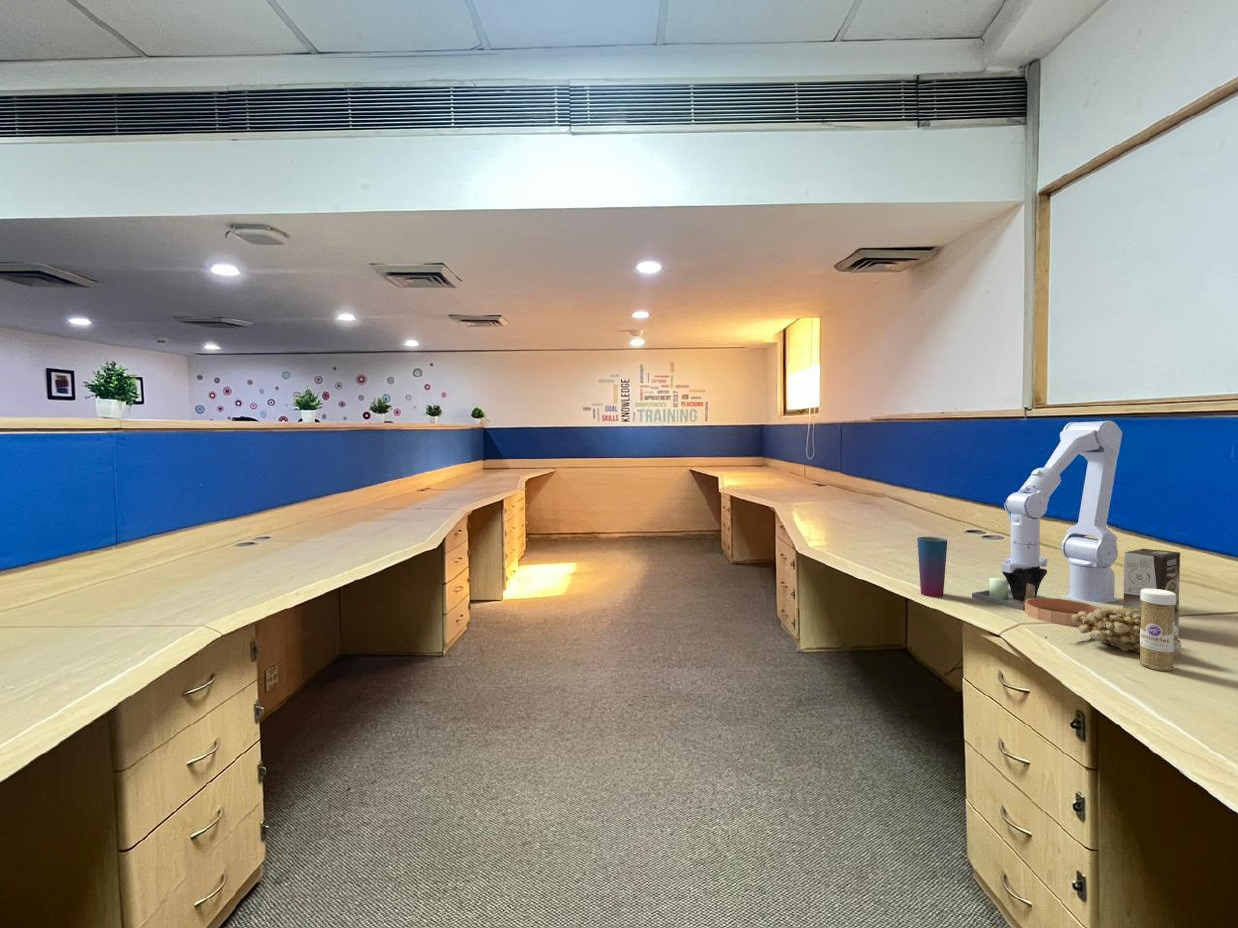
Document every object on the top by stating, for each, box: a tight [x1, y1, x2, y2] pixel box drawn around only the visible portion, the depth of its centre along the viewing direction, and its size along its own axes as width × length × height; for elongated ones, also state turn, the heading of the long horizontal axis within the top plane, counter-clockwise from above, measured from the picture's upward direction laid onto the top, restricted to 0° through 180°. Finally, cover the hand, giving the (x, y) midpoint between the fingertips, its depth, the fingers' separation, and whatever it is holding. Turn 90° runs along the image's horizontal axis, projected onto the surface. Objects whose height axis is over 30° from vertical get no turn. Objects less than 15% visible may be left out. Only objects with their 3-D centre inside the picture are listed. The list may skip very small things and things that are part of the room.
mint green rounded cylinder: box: [988, 577, 1010, 600], centre depth 143 cm, size 4×4×4 cm
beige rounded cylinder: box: [1014, 584, 1035, 604], centre depth 137 cm, size 4×4×4 cm
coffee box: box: [1122, 548, 1181, 628], centre depth 120 cm, size 9×6×16 cm
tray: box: [971, 588, 1049, 611], centre depth 140 cm, size 12×12×2 cm
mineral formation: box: [1071, 607, 1182, 654], centre depth 110 cm, size 8×13×15 cm
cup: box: [916, 536, 948, 598], centre depth 146 cm, size 7×7×15 cm
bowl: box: [1024, 597, 1100, 627], centre depth 127 cm, size 13×13×3 cm
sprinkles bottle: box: [1138, 588, 1176, 672], centre depth 100 cm, size 5×5×13 cm
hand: (1024, 598), depth 137 cm, fingers closed on beige rounded cylinder, 4 cm apart
